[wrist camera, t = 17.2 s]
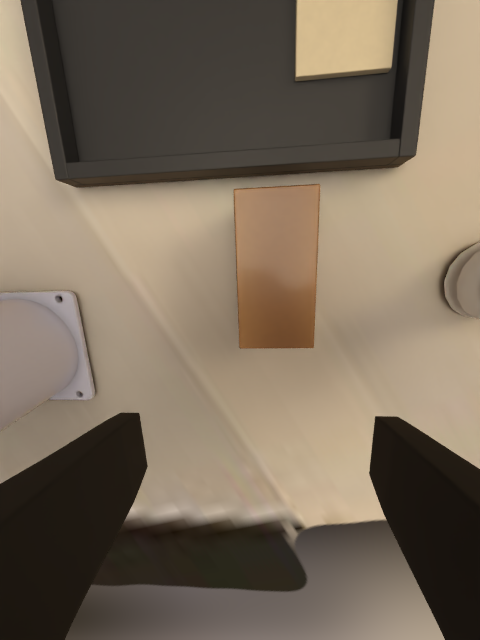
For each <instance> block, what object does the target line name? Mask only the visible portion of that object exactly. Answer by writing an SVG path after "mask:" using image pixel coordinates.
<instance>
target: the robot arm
mask: <svg viewBox="0 0 480 640" xmlns="http://www.w3.org/2000/svg"><path fill="white" fill-rule="evenodd" d="M60 296H61V297H62V299H63V301H61V300H60ZM80 392H82V394H81V393H80ZM94 396H95V388H94V383H93V378H92V373H91V368H90V363H89V358H88V353H87V348H86V342H85V337H84V332H83V327H82V322H81V317H80V312H79V307H78V302H77V297H76V295H75V294H74V293H73V292H72V291H33V292H0V432H1V431H2V430H4V429H5V428H7V427H8V426H10V425H11V424H13V423H14V422H16V421H17V420H18V419H20V418H21V417H23V416H24V415H26V414H27V413H29V412H30V411H32V410H33V409H35V408H36V407H38V406H39V405H40V404H42V403H43V402H45V401H46V400H90V399H92V398H93V397H94ZM147 467H148V466H147V460H146V453H145V447H144V441H143V434H142V428H141V422H140V415H139V413H119V414H118V415H116V416H114V417H112V418H110V419H108V420H107V421H105V422H103V423H102V424H100V425H98V426H97V427H95V428H93V429H92V430H90V431H88V432H87V433H85V434H84V435H82V436H80V437H79V438H77V439H75V440H74V441H72V442H70V443H69V444H67V445H66V446H64V447H62V448H61V449H59V450H57V451H56V452H54V453H53V454H51V455H49V456H48V457H46V458H44V459H43V460H41V461H39V462H37V463H36V464H34V465H32V466H30V467H29V468H27V469H25V470H24V471H22V472H20V473H18V474H17V475H15V476H13V477H11V478H10V479H8V480H6V481H5V482H3V483H1V484H0V640H65V638H66V635H67V633H68V631H69V628H70V626H71V624H72V622H73V620H74V618H75V616H76V614H77V612H78V610H79V608H80V606H81V604H82V601H83V599H84V598H85V596H86V594H87V592H88V590H89V588H90V586H91V584H92V582H93V580H94V578H95V576H96V574H97V573H98V571H99V569H100V567H101V565H102V563H103V561H104V559H105V557H106V555H107V553H108V551H109V549H110V548H111V546H112V544H113V542H114V540H115V538H116V536H117V534H118V532H119V530H120V528H121V526H122V524H123V522H124V520H125V519H126V517H127V515H128V513H129V511H130V509H131V507H132V505H133V503H134V500H135V498H136V495H137V493H138V490H139V488H140V485H141V483H142V480H143V477H144V475H145V472H146V469H147ZM369 474H370V477H371V480H372V483H373V486H374V489H375V491H376V494H377V497H378V500H379V502H380V505H381V508H382V510H383V513H384V515H385V517H386V519H387V521H388V523H389V525H390V527H391V530H392V532H393V534H394V536H395V538H396V540H397V541H398V544H399V546H400V548H401V550H402V552H403V554H404V556H405V558H406V560H407V562H408V564H409V566H410V568H411V571H412V573H413V574H414V577H415V579H416V580H417V583H418V585H419V587H420V589H421V591H422V593H423V595H424V597H425V599H426V601H427V603H428V605H429V607H430V609H431V611H432V613H433V615H434V617H435V619H436V621H437V623H438V625H439V628H440V630H441V632H442V634H443V636H444V638H445V640H480V469H479V468H477V467H476V466H474V465H472V464H471V463H469V462H468V461H466V460H465V459H463V458H461V457H460V456H458V455H457V454H455V453H454V452H452V451H451V450H449V449H448V448H446V447H445V446H443V445H441V444H440V443H438V442H437V441H435V440H434V439H432V438H431V437H429V436H428V435H426V434H425V433H423V432H422V431H420V430H418V429H417V428H415V427H414V426H412V425H411V424H409V423H407V422H406V421H404V420H402V419H400V418H399V417H383V416H375V424H374V434H373V443H372V453H371V462H370V472H369Z"/></svg>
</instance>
